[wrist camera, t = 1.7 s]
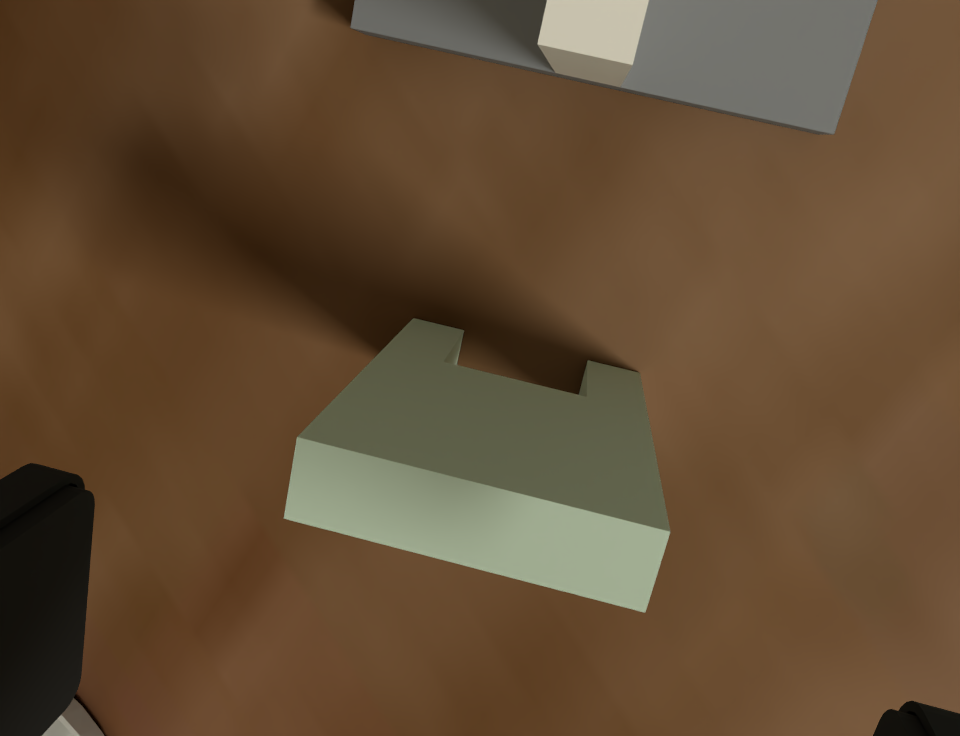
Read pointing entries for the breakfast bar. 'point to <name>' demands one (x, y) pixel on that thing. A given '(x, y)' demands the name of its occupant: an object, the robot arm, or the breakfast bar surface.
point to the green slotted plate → (490, 470)
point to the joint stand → (657, 47)
